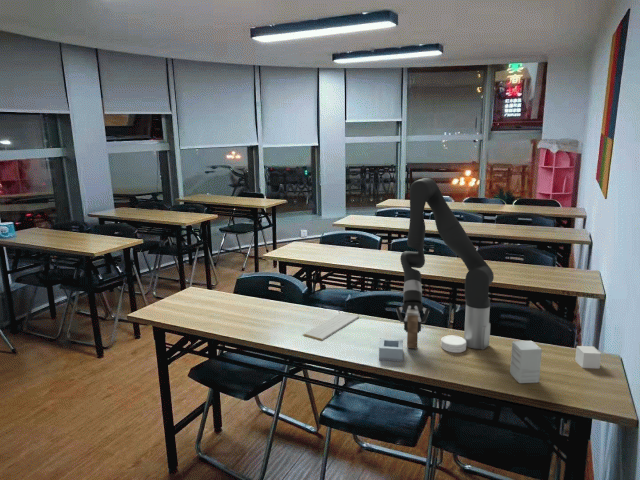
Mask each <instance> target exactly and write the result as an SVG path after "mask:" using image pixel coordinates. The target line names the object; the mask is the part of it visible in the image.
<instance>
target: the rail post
mask: <svg viewBox="0 0 640 480" xmlns="http://www.w3.org/2000/svg"><path fill="white" fill-rule="evenodd" d="M407 315H408V332H406V333H407V336H406V338H407V341H406V343H407V345H406V347H407V349H418V336H419V335H418V334H419V333H418V310H417V309H407Z"/></svg>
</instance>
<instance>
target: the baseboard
mask: <svg viewBox="0 0 640 480" xmlns="http://www.w3.org/2000/svg"><path fill="white" fill-rule="evenodd" d="M337 312H338V313H337V314H335V315H334V316H332V317H331V318H329V319H327V320H325V321H324V322H322V323H319V324H318V325H316V326H315V327H313V328H311V329H310V330H308V331H306V332H304V333H303V334H302V336H304V337H308V338H310V339H311V338H312V339H315V340H318V341H324V340H325V339H327V338H328V337H330V336H331V335H333V334H335V333H337V332H338V331H340V330H342V329H343V328H344V327H346V326H348V325H349V324H351V323H353V322H355V321H356V320H358V319H359V315H360V314H353V313H351V310H345V311H343V310H341V309H340V310H339V311H337Z"/></svg>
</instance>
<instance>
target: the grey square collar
mask: <svg viewBox="0 0 640 480" xmlns="http://www.w3.org/2000/svg"><path fill="white" fill-rule="evenodd" d="M378 345H379V347H378V360H379V361H386V362H387V361H390V362H404V359H403V357H404V339H399V338H397V339H396V338H383V337H382V338H380V339H379V344H378Z"/></svg>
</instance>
